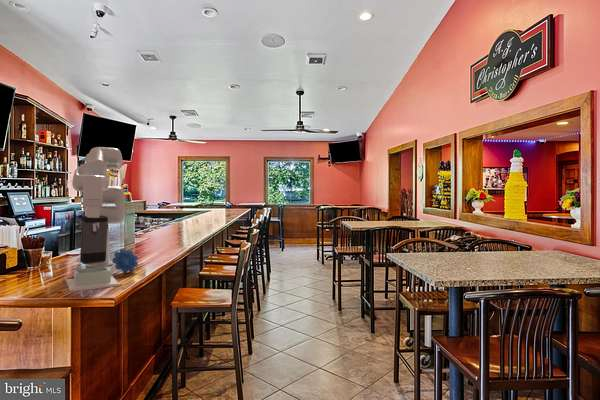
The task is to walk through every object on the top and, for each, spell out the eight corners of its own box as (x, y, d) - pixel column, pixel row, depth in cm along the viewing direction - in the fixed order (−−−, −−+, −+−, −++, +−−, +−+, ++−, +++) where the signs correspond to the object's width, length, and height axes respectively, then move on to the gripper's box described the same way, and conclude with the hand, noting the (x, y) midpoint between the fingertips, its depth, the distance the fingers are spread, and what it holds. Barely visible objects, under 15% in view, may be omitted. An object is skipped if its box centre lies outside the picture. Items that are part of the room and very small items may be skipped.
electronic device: (101, 259, 168) (103, 215, 166) (107, 262, 164) (109, 217, 162) (78, 261, 161) (80, 215, 159) (83, 265, 157) (85, 218, 155)
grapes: (112, 275, 178) (112, 250, 178) (112, 272, 184) (112, 248, 184) (138, 273, 183) (138, 249, 183) (137, 270, 189) (138, 247, 189)
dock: (66, 281, 165) (66, 268, 165) (111, 276, 176) (111, 264, 175) (69, 291, 150) (69, 276, 150) (118, 285, 161) (118, 271, 161)
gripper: (80, 202, 166) (80, 243, 167) (85, 204, 153) (84, 248, 153) (99, 202, 171) (99, 242, 171) (105, 204, 157) (105, 247, 158)
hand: (92, 245), depth 162 cm, fingers closed on electronic device, 4 cm apart
